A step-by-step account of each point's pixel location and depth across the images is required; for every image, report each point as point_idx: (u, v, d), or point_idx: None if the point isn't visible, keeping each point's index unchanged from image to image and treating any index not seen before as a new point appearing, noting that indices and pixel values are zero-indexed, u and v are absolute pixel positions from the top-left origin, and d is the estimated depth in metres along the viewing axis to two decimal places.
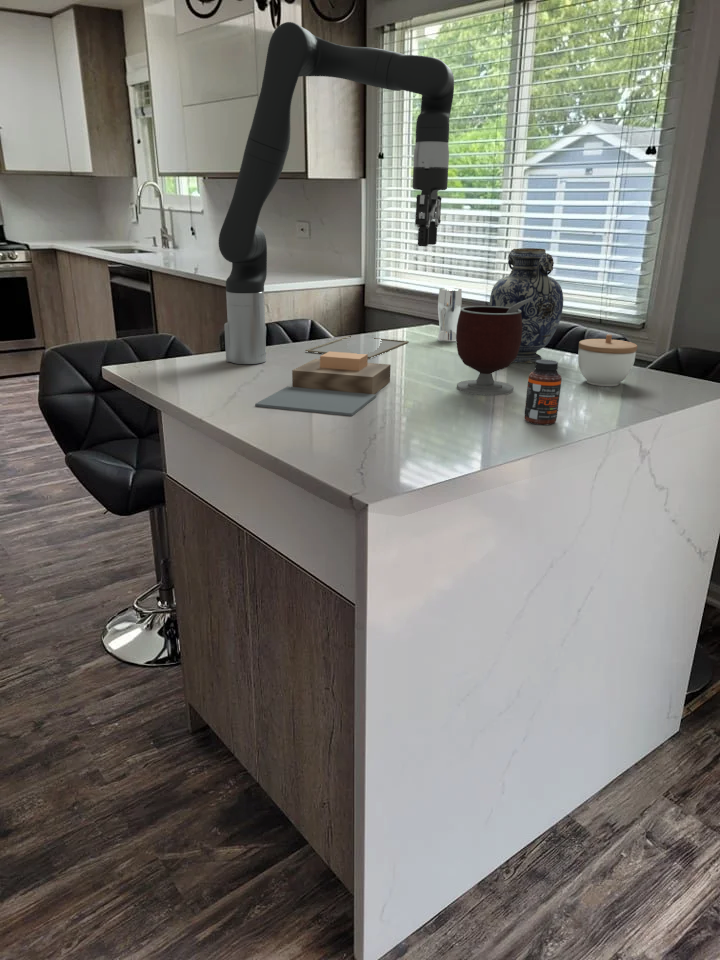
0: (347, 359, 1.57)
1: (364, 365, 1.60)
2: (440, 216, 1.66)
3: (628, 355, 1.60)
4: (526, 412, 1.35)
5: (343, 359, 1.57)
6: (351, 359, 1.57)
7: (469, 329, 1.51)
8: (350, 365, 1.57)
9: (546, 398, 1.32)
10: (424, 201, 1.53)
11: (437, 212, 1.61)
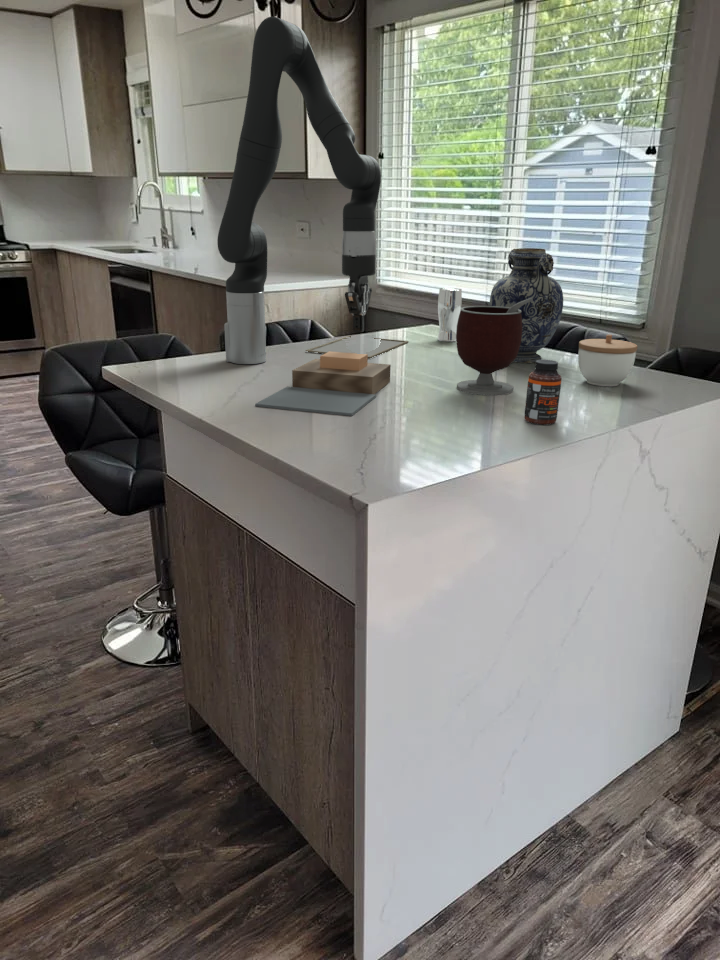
0: (347, 359, 1.57)
1: (364, 365, 1.60)
2: None
3: (628, 355, 1.60)
4: (526, 412, 1.35)
5: (343, 359, 1.57)
6: (351, 359, 1.57)
7: (469, 329, 1.51)
8: (350, 365, 1.57)
9: (546, 398, 1.32)
10: (353, 299, 1.59)
11: (365, 296, 1.65)
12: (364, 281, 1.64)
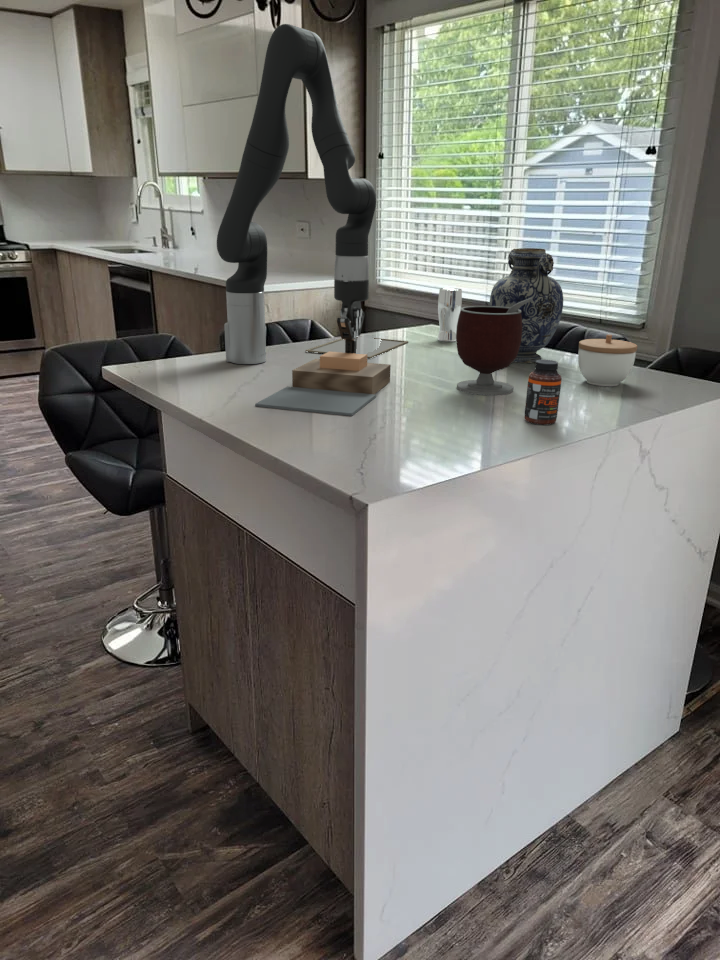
0: (347, 359, 1.57)
1: (364, 365, 1.60)
2: None
3: (628, 355, 1.60)
4: (526, 412, 1.35)
5: (343, 359, 1.57)
6: (351, 359, 1.57)
7: (469, 329, 1.51)
8: (350, 365, 1.57)
9: (546, 398, 1.32)
10: (345, 325, 1.56)
11: (358, 321, 1.62)
12: (357, 306, 1.61)
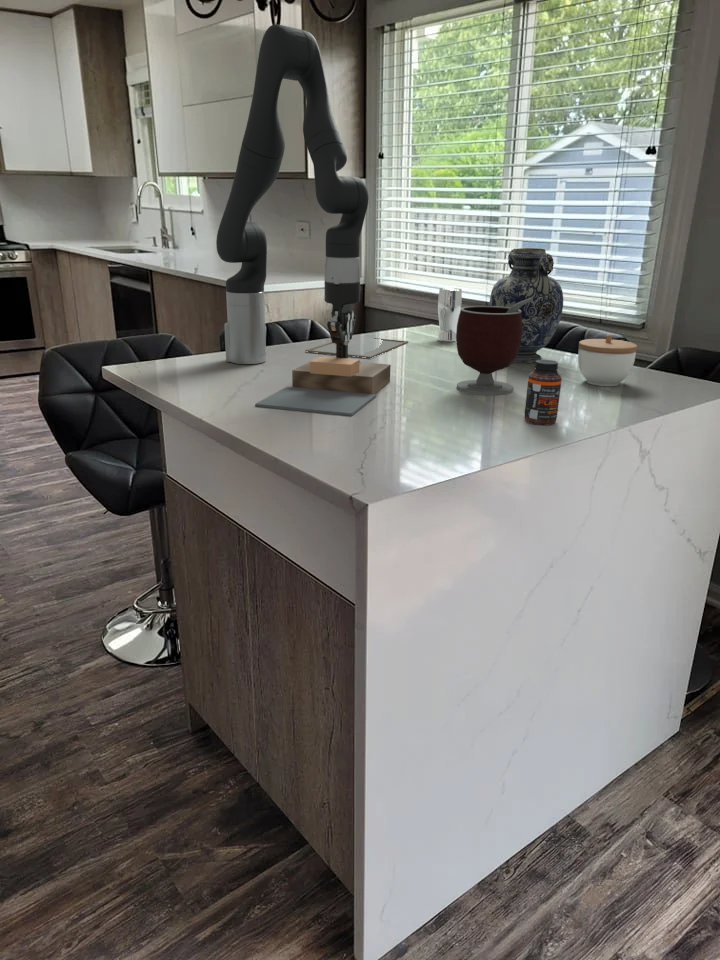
0: (338, 364, 1.51)
1: (356, 371, 1.55)
2: (352, 334, 1.60)
3: (628, 355, 1.60)
4: (526, 412, 1.35)
5: (334, 364, 1.52)
6: (342, 364, 1.51)
7: (469, 329, 1.51)
8: (341, 371, 1.51)
9: (546, 398, 1.32)
10: (336, 329, 1.51)
11: (349, 324, 1.56)
12: (348, 309, 1.55)
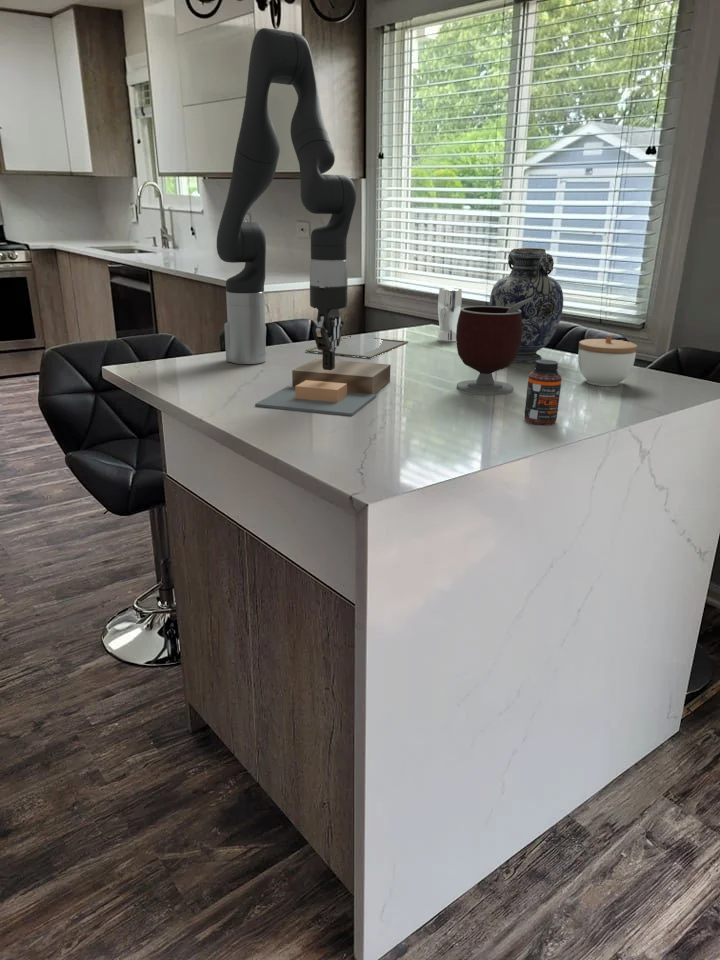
0: None
1: (341, 389, 1.46)
2: None
3: (628, 355, 1.60)
4: (526, 412, 1.35)
5: None
6: None
7: (469, 329, 1.51)
8: None
9: (546, 398, 1.32)
10: (321, 335, 1.43)
11: (336, 330, 1.49)
12: (335, 314, 1.48)
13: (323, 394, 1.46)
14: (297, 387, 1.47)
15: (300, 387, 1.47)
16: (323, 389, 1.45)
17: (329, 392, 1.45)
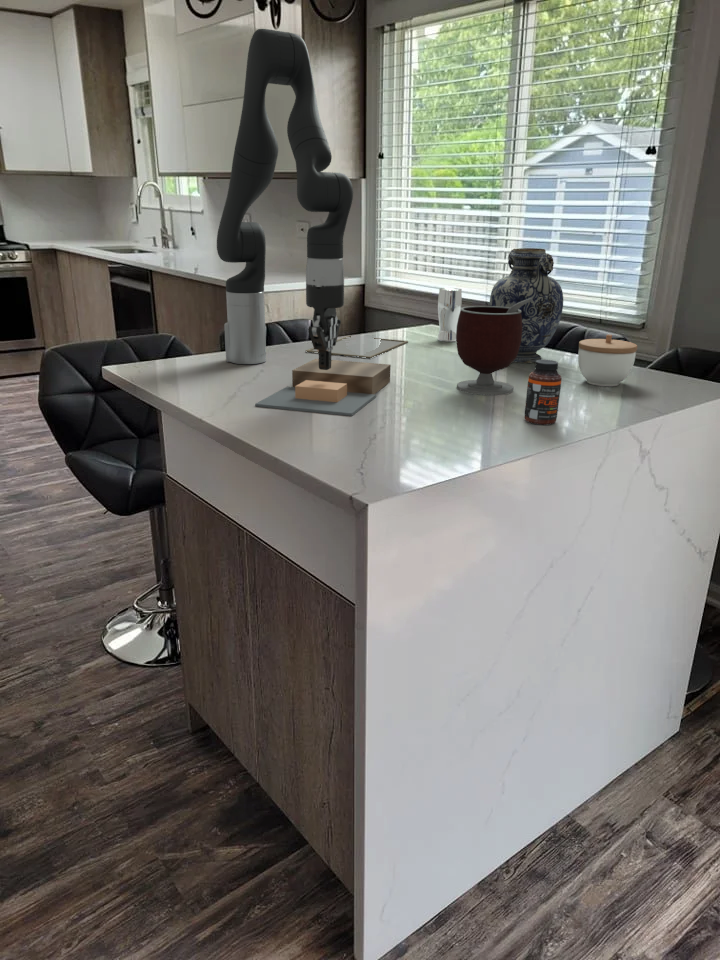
0: None
1: (341, 389, 1.46)
2: (336, 340, 1.51)
3: (628, 355, 1.60)
4: (526, 412, 1.35)
5: None
6: None
7: (469, 329, 1.51)
8: None
9: (546, 398, 1.32)
10: (317, 335, 1.42)
11: (332, 330, 1.47)
12: (331, 313, 1.46)
13: (323, 394, 1.46)
14: (297, 387, 1.47)
15: (300, 387, 1.47)
16: (323, 389, 1.45)
17: (329, 392, 1.45)
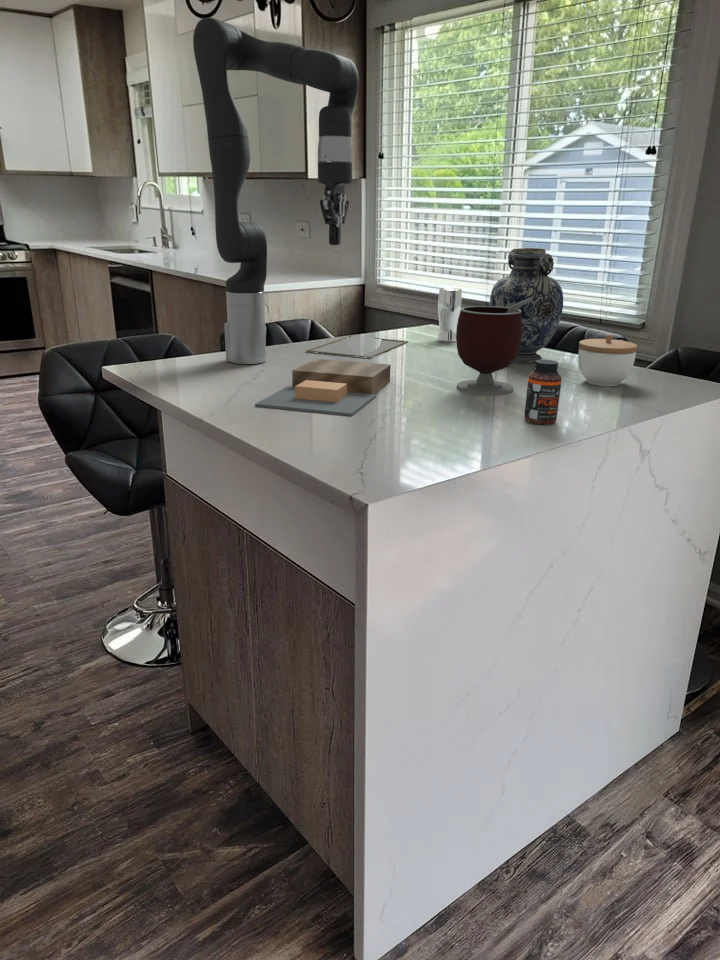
0: None
1: (341, 389, 1.46)
2: None
3: (628, 355, 1.60)
4: (526, 412, 1.35)
5: None
6: None
7: (469, 329, 1.51)
8: None
9: (546, 398, 1.32)
10: (328, 207, 1.56)
11: (342, 207, 1.61)
12: (340, 191, 1.60)
13: (323, 394, 1.46)
14: (297, 387, 1.47)
15: (300, 387, 1.47)
16: (323, 389, 1.45)
17: (329, 392, 1.45)
